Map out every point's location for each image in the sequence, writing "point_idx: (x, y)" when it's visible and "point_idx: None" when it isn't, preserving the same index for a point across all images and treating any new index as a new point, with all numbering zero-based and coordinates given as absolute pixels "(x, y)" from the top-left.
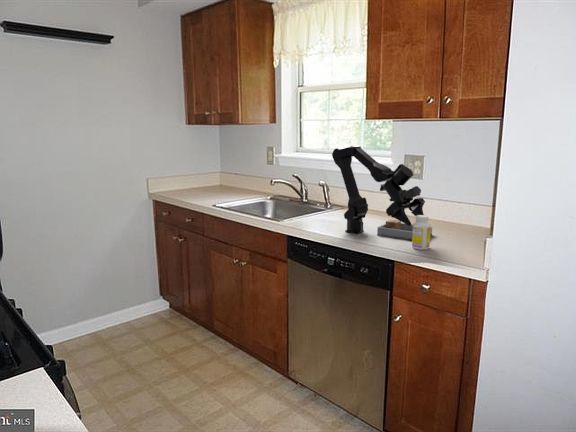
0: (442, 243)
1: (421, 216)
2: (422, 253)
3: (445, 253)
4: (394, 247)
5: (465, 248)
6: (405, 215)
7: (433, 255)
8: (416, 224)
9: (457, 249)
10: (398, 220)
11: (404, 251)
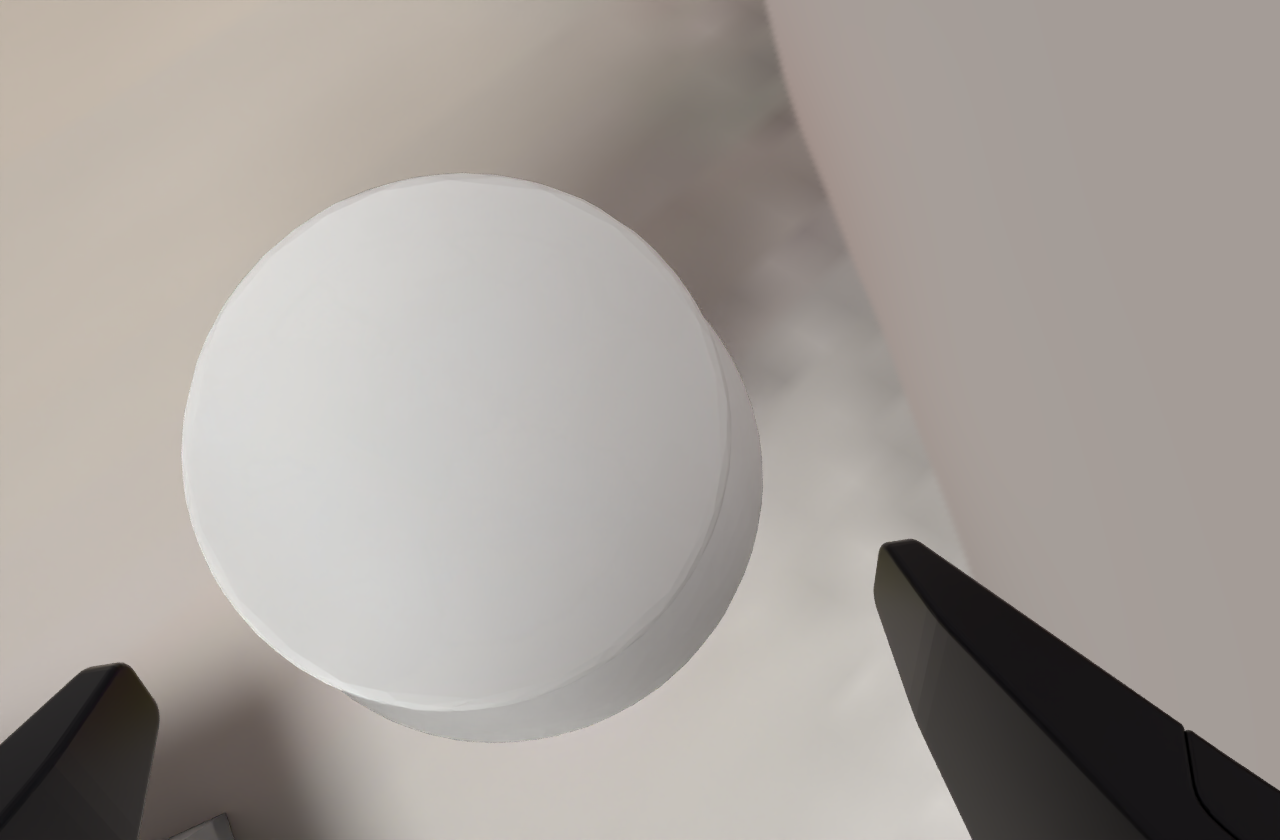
0: (23, 516)
1: (539, 391)
2: (747, 297)
3: (470, 131)
4: (895, 770)
5: (4, 138)
6: (1224, 799)
7: (686, 156)
8: (748, 456)
9: (150, 166)
10: None
11: (905, 509)
